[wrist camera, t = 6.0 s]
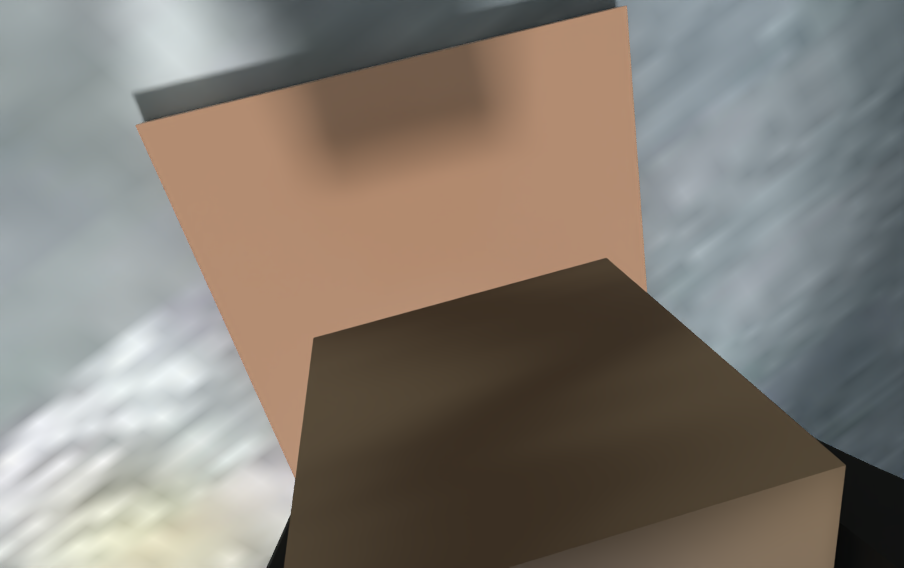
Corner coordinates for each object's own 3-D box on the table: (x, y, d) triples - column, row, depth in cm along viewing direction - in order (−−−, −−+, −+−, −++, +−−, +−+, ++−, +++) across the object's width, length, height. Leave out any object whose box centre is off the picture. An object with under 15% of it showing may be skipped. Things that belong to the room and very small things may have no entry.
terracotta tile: (616, 6, 14) (626, 5, 14) (645, 386, 19) (654, 396, 19) (144, 121, 13) (135, 125, 13) (304, 483, 19) (303, 497, 18)
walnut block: (606, 257, 9) (846, 465, 5) (629, 477, 11) (810, 763, 7) (313, 338, 9) (273, 637, 5) (393, 547, 11) (420, 894, 7)
